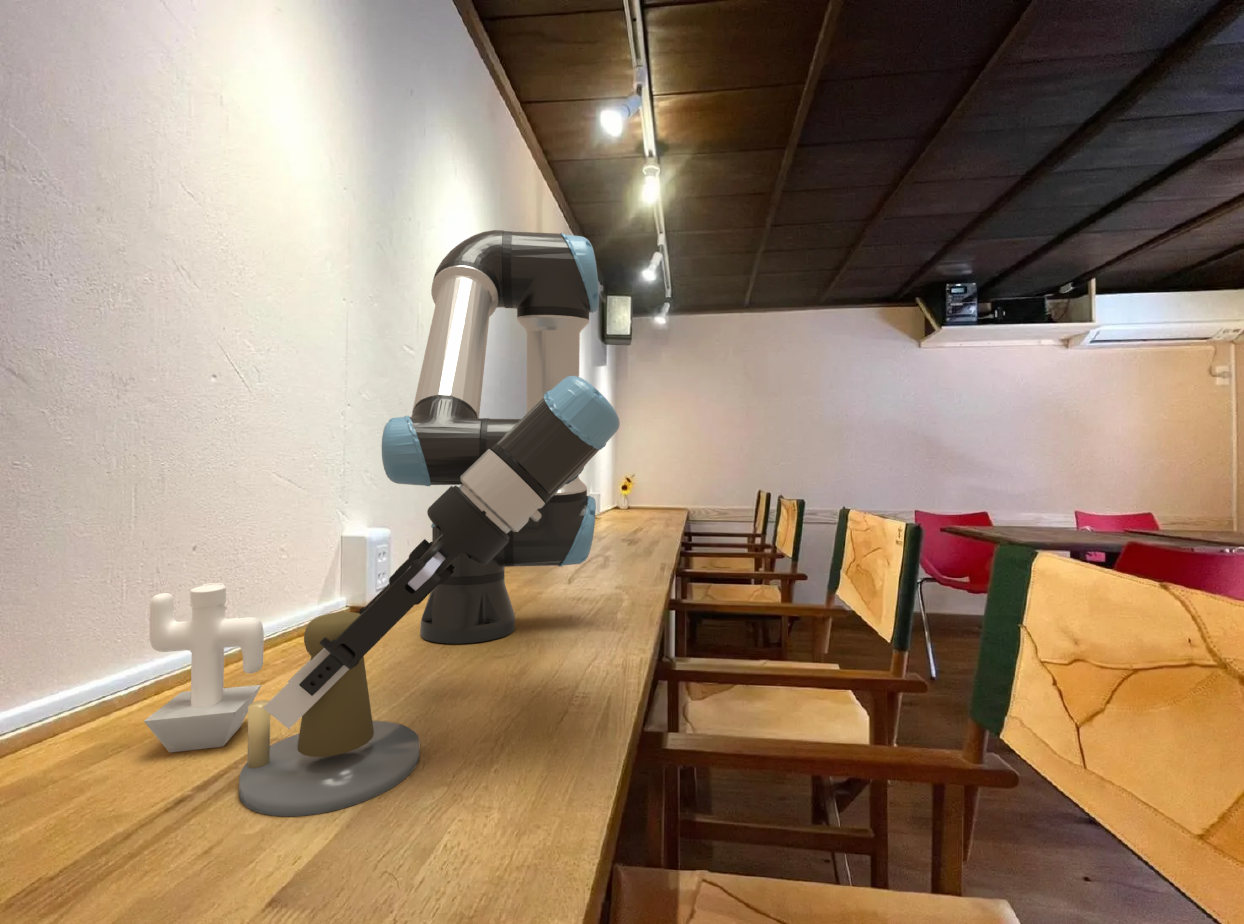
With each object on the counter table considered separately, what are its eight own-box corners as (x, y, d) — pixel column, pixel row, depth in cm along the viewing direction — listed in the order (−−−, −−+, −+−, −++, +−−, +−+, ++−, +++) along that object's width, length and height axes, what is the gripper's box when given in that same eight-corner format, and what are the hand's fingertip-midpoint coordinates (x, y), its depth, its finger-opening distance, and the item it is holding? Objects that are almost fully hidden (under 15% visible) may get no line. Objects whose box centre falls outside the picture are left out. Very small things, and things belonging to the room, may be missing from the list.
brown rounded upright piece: (343, 760, 46) (344, 624, 47) (280, 753, 48) (281, 621, 48) (388, 727, 52) (388, 608, 53) (330, 722, 54) (331, 605, 54)
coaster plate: (312, 729, 58) (313, 668, 58) (444, 736, 56) (445, 672, 56) (194, 810, 44) (195, 728, 44) (366, 822, 42) (366, 737, 42)
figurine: (248, 749, 53) (250, 589, 54) (128, 763, 51) (131, 595, 51) (272, 718, 60) (274, 576, 61) (168, 729, 58) (171, 581, 58)
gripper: (519, 548, 45) (288, 785, 41) (509, 528, 63) (347, 691, 59) (450, 482, 44) (204, 718, 40) (459, 480, 62) (290, 643, 58)
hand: (290, 702), depth 49 cm, fingers open, 5 cm apart
